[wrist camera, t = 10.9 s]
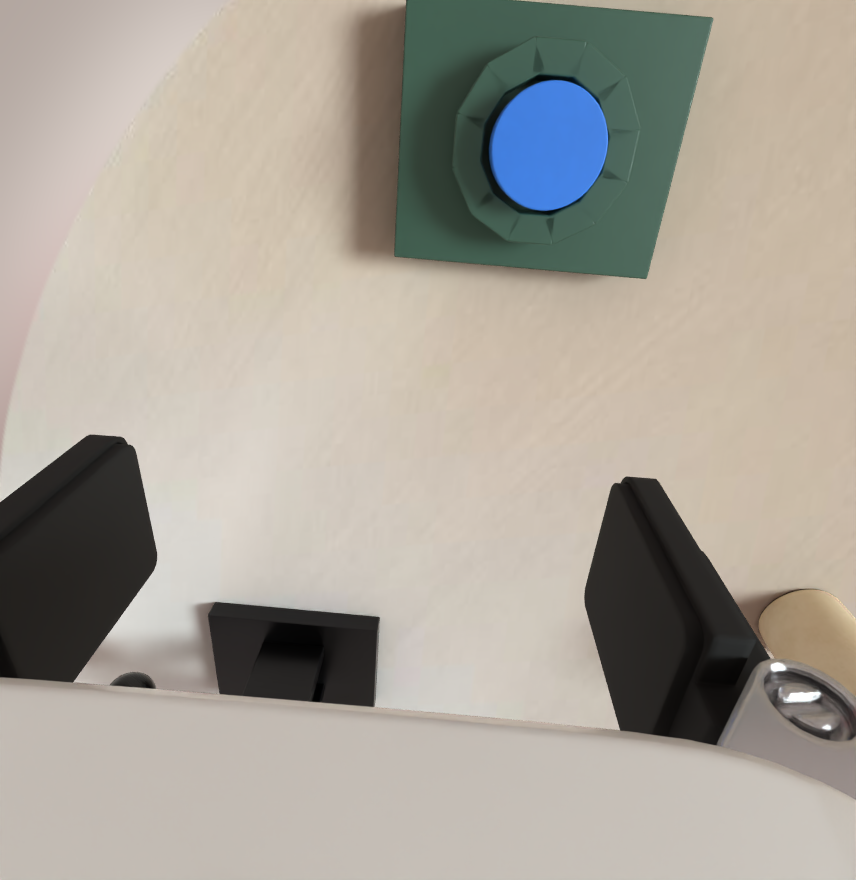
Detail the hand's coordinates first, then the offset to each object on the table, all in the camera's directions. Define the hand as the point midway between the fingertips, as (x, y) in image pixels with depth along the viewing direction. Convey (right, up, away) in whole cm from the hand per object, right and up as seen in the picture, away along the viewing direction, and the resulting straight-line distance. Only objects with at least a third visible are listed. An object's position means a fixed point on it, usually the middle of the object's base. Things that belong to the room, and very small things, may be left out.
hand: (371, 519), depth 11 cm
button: (+6, +13, +12) cm, 19 cm away
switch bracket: (-9, -15, +31) cm, 35 cm away
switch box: (+6, +15, +15) cm, 22 cm away
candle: (+27, -11, +27) cm, 40 cm away
